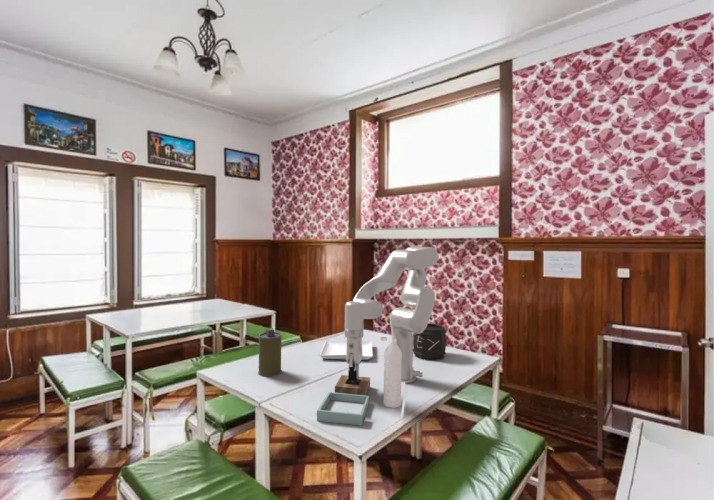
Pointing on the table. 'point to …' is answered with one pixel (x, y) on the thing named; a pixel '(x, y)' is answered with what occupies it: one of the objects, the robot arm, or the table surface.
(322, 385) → the table surface
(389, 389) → the water bottle
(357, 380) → the steel pin
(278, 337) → the canister
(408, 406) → the table surface
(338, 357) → the square plate
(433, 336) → the black cylinder
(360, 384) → the block
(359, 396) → the tray
